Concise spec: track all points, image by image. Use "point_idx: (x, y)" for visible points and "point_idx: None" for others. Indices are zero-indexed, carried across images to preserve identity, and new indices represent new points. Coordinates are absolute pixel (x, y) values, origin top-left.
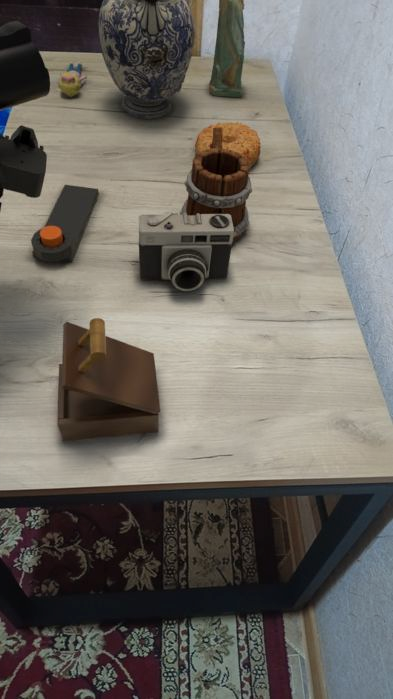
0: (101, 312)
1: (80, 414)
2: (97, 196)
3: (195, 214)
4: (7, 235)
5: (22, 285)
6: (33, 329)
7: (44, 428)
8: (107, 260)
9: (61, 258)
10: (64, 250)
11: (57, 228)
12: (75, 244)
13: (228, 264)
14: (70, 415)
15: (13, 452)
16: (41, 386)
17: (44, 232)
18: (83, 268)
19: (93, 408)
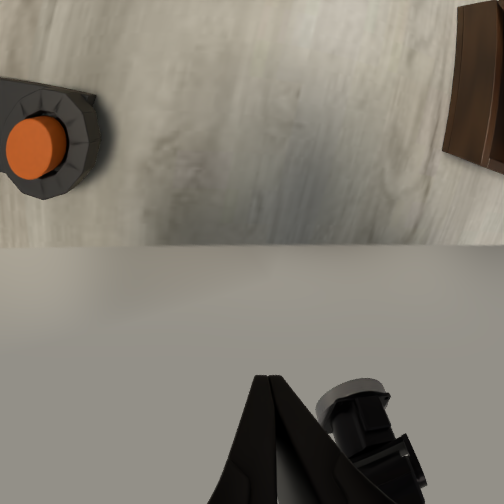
0: (287, 32)
1: (499, 142)
2: None
3: None
4: (18, 244)
5: (161, 210)
6: (306, 190)
7: (489, 194)
8: (103, 9)
9: (95, 117)
10: (80, 107)
11: (15, 132)
12: (47, 86)
13: None
14: (497, 157)
15: (496, 236)
16: (435, 189)
17: (28, 167)
18: (120, 64)
19: (498, 121)
